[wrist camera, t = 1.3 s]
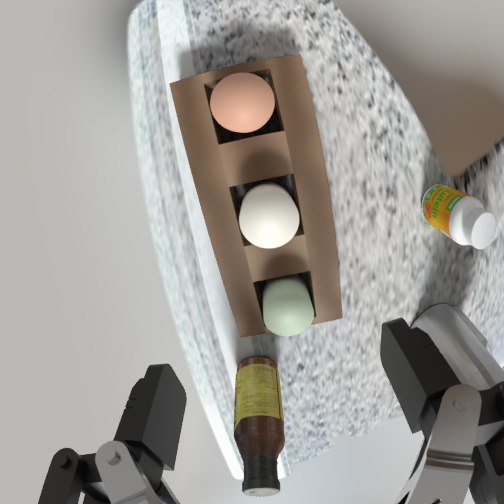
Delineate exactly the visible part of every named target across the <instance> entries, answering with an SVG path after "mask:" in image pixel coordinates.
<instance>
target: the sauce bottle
mask: <svg viewBox="0 0 504 504" xmlns="http://www.w3.org/2000/svg"><path fill="white" fill-rule="evenodd" d="M234 439H235V441H236V444H237V447H238V449H239V452H240V455H241V457H242V460H243V462H244V463H243V465H244V481H243V483H242V491H243V493H244V494H246V495H249V496H271V495H275V494H277V493H279V492H280V482H279V480H278V476H277V458H278V455H279V453H280V452H281V451H282V449H283V447H284V442H285V437H284V417H283V408H282V398H281V389H280V379H279V373H278V370H277V367H276V365H275V363H274V362H273V361H272V360H270V359H268V358H265V357H259V356H258V357H255V356H254V357H250V358H247V359H245V360H244V361H242V362H241V363H240V364H239V366H238V368H237V374H236V384H235V410H234Z"/></svg>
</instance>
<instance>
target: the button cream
mask: <svg viewBox="0 0 504 504" xmlns="http://www.w3.org/2000/svg"><path fill="white" fill-rule="evenodd" d="M239 224H240V228H241V231H242V233H243V235H244V236H245V238H246V239H247V240H248V241H249V242H251V243H252V244H254V245H256V246H258V247H261V248H277V247H280V246H282V245H284V244H286V243H287V242H289V241H290V240H291V239H292V238H293V236H294V235H295V233H296V231H297V229H298V226H299V213H298V210H297V207H296V206H295V204H294V202H293V200H292V198H291V196H290V194H289V193H288V191H287V190H286V189H285V188H284V187H283V186H281V185H279V184H277V183H274V182H260V183H257V184H255V185H253V186H252V187H251V188H250V189H249V190H248V191H247V192H246V193H245V195H244V198H243V201H242V206H241V211H240V216H239Z"/></svg>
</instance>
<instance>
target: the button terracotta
mask: <svg viewBox="0 0 504 504" xmlns="http://www.w3.org/2000/svg"><path fill="white" fill-rule="evenodd" d="M274 105H275V99H274V94H273V91H272V89H271V87H270V86H269V84H268V83H267V82H266V81H265V80H263V79H262V78H261V77H259V76H257V75H254V74H251V73H235V74H231V75H229V76H227V77H225V78H223V79H222V80H221V81H220V82H219V83H218V84H217V85H216V86H215V88H214V90H213V92H212V94H211V99H210V107H211V111H212V114H213V116H214V118H215V119H216V121H217V122H218V123H219V124H220V125H222V126H223V127H224V128H226V129H228V130H231V131H235V132H240V133H248V132H253V131H256V130H258V129H259V128H261V127H262V126H263V125H264V124H265V123H266V122H267V121H268V120H269V118H270V117H271V115H272V113H273V110H274Z"/></svg>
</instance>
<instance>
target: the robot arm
mask: <svg viewBox="0 0 504 504" xmlns="http://www.w3.org/2000/svg"><path fill="white" fill-rule="evenodd" d="M486 346H487V340H486V338H485V337H484V336H483V335H482V334H481V332H480V331H479V330H478V329H477V328H476V327H475V325H474V324H473V323H472V322H471V321H470V320H469V318H468V317H467V316H466V315H465V314H464V313H463V312H462V311H461V309H460V308H459V307H458V306H457V305H456V306H450V305H448V304H438V305H435V306H433V307H431V308H429V309H427V310H426V311H425V312H423V313H422V314H421V315H420V316H419V317H418V318H417V319H416V321H415V322H414V323H413V325H412V327H411V329H410V327H409V326H408V324H407V323H406V321H405V320H404V319H403V318H398V319H395V320H392V321H388V322H385V323H383V324H382V333H381V348H380V357H381V362H382V365H383V368H384V370H385V372H386V374H387V377H388V379H389V381H390V383H391V385H392V387H393V390H394V392H395V394H396V396H397V399H398V401H399V403H400V406H401V408H402V410H403V412H404V415H405V417H406V419H407V422H408V424H409V427H410V429H411V431H412V434H413V433H416V432H418V431H420V430H422V432H423V435H424V439H423V442H422V444H421V447H420V450H419V453H418V455H417V458H416V461H415V463H414V465H413V468H412V470H411V473H410V475H409V477H408V480H407V482H406V484H405V486H404V488H403V489H402V491H401V493H400V495H399V496H398V498H397V500H396V502H395V504H463V502H464V499H465V496H466V493H467V490H468V487H469V489H470V492H471V495H472V498H473V500H474V502H475V504H504V371H503V370H502V368H501V367H500V366H499V364H498V363H497V362H496V360H495V359H494V358H493V356H492V355H491V354H490V352H489V351H488V350H487V349H486ZM125 407H126V409H124V412H123V415H122V418H121V421H120V423H119V426H118V429H117V432H116V435H115V438H114V440H113V441H110V442H107V443H105V444H103V445H102V446H101V447H100V448H99V449H98V451H97V453H93V454H86V455H79V454H77V453H76V452H75V451H74V450H73V449H70V448H63V449H61V450H59V451H58V452H57V453H56V454H55V455H54V457H53V459H52V461H51V464H50V467H49V470H48V473H47V476H46V479H45V482H44V485H43V489H42V492H41V496H40V499H39V502H38V504H78V501H79V497H80V493H81V492H83V493H84V494H85V497H84V501H83V504H180V503H179V501H178V500H177V499H176V497H175V496H174V494H173V493H172V491H171V489H170V488H169V486H168V485H167V483H166V481H165V480H164V478H163V477H162V473H163V470H171V471H173V470H174V465H175V461H176V455H177V449H178V443H179V438H180V433H181V427H182V422H183V416H184V412H185V407H186V393H185V390H184V388H183V386H182V384H181V382H180V381H179V379H178V377H177V376H176V374H175V372H174V371H173V369H172V367H171V366H170V365H169V364H158V365H150V366H149V367H148V369H147V371H146V374H145V377H144V378H141V379H139V381H138V382H137V383H136V384H135V385H134V387H133V388H132V390H131V393H130V396H129V400H128V401H127V404H126V406H125Z"/></svg>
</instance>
